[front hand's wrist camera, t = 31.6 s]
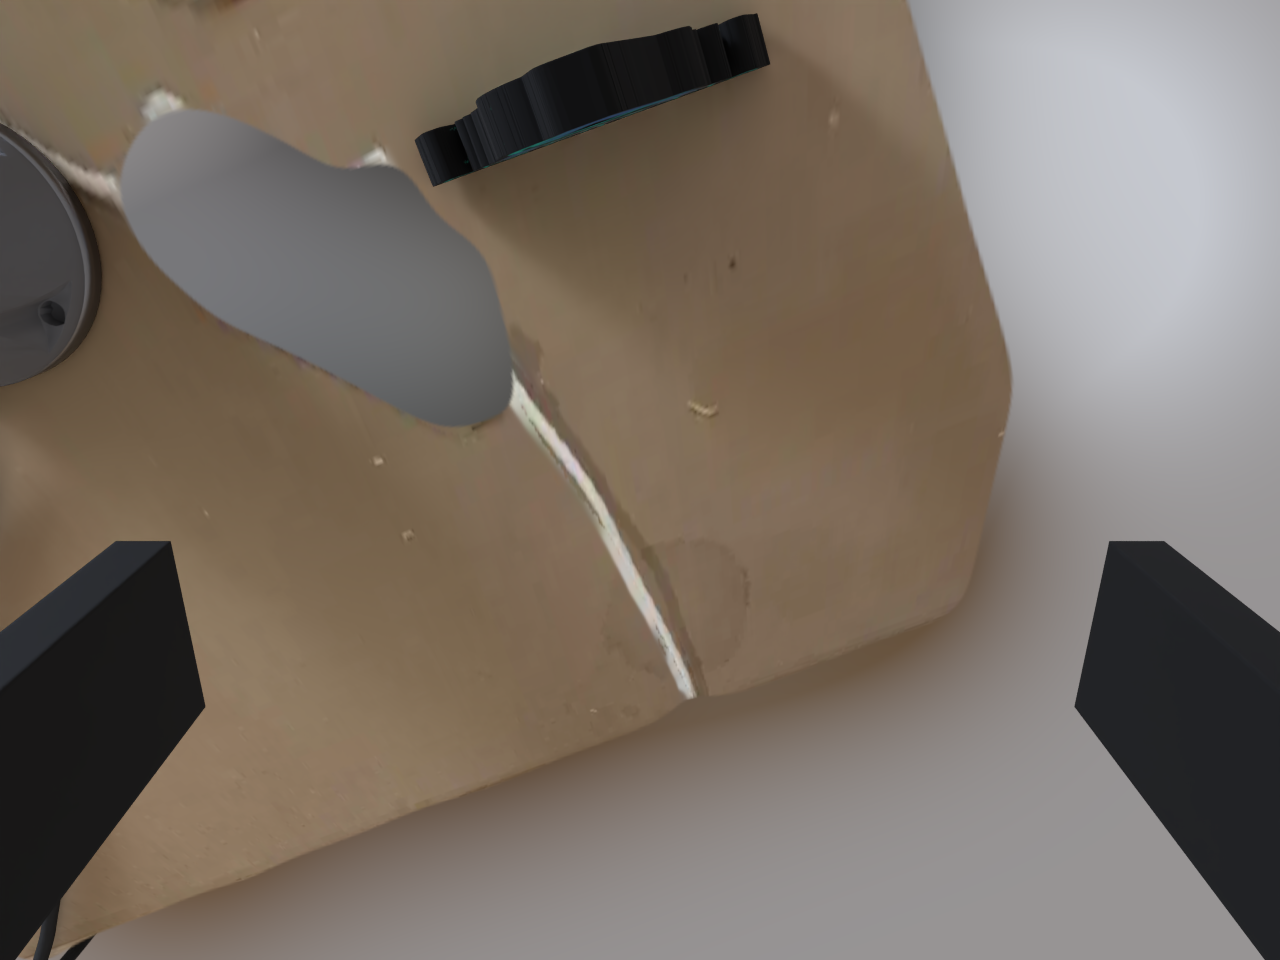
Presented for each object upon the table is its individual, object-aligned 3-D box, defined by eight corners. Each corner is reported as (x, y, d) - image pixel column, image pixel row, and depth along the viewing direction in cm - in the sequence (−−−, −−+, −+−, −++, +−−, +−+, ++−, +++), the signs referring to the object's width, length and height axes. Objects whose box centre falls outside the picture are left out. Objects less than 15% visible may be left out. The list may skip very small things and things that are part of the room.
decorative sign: (755, 15, 46) (806, -35, 32) (768, 65, 47) (823, 37, 33) (417, 140, 48) (326, 145, 34) (435, 185, 49) (354, 208, 35)
